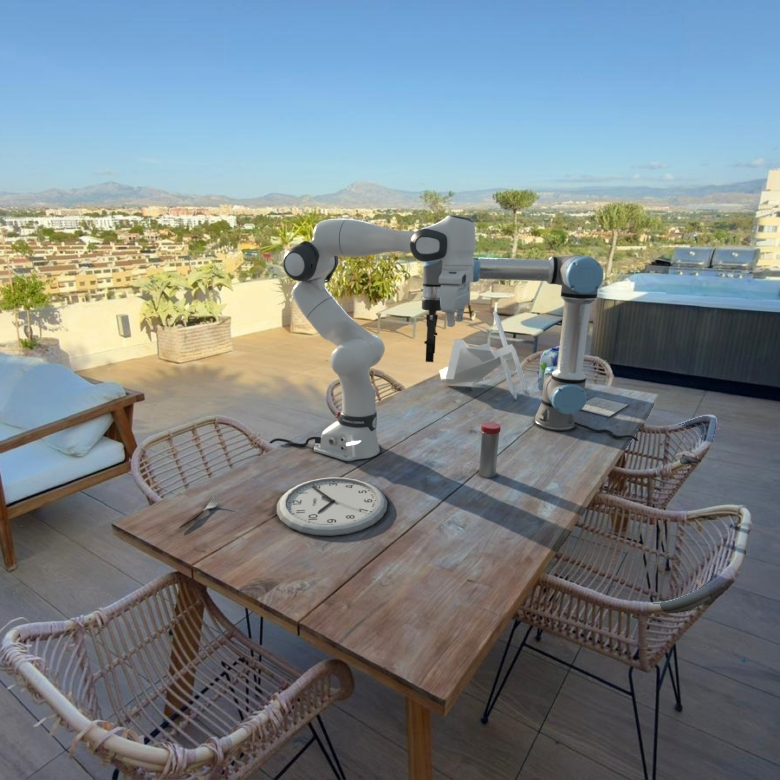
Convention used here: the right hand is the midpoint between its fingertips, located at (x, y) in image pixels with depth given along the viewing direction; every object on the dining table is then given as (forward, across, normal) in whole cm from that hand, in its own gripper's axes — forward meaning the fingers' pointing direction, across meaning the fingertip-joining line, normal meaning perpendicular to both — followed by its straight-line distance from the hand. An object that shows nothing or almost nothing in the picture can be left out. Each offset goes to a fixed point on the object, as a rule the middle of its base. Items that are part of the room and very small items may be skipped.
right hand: (430, 357), depth 190 cm
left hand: (-18, +33, +8) cm, 38 cm away
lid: (+12, +35, +20) cm, 42 cm away
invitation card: (+28, -38, +73) cm, 87 cm away
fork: (+28, +71, -56) cm, 94 cm away
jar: (+28, +35, +20) cm, 49 cm away
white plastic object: (+28, -50, +22) cm, 61 cm away
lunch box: (+28, -61, +59) cm, 90 cm away
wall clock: (+28, +61, -23) cm, 71 cm away
